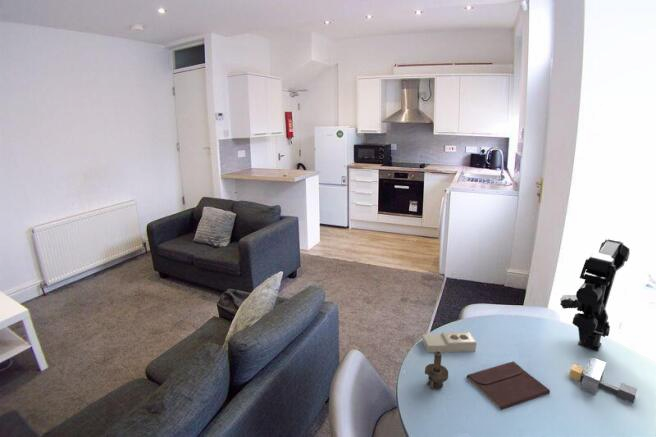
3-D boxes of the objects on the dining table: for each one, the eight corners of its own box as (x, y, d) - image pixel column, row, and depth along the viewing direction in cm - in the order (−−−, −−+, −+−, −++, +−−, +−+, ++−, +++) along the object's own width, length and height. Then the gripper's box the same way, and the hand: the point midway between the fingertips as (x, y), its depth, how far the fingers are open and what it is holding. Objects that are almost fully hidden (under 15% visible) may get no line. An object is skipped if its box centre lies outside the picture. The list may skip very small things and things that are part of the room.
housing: (588, 370, 128) (591, 357, 126) (602, 376, 125) (606, 362, 123) (580, 388, 119) (583, 374, 118) (595, 395, 117) (599, 380, 115)
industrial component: (438, 374, 125) (441, 343, 122) (452, 389, 119) (456, 357, 116) (414, 381, 122) (417, 349, 119) (427, 396, 116) (430, 363, 113)
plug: (572, 371, 127) (573, 363, 127) (634, 396, 116) (637, 388, 115) (569, 376, 125) (570, 369, 124) (633, 403, 113) (635, 395, 113)
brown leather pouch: (549, 394, 118) (550, 389, 117) (501, 411, 111) (502, 406, 110) (511, 365, 131) (512, 360, 130) (466, 378, 124) (467, 373, 124)
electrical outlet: (422, 332, 143) (469, 331, 144) (422, 341, 144) (467, 340, 145) (428, 343, 136) (476, 342, 137) (427, 353, 137) (475, 352, 138)
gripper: (570, 277, 135) (563, 315, 139) (558, 296, 122) (550, 337, 126) (608, 287, 128) (599, 326, 132) (600, 308, 115) (590, 351, 119)
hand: (584, 334), depth 128 cm, fingers open, 9 cm apart
